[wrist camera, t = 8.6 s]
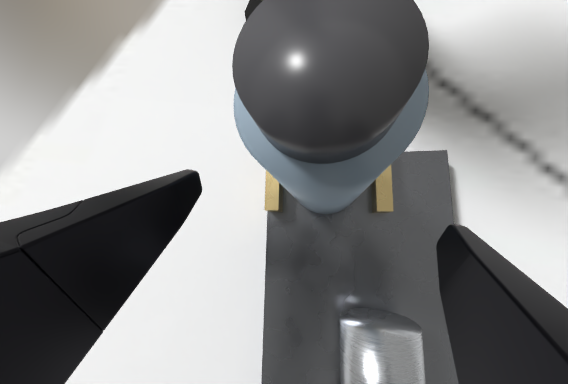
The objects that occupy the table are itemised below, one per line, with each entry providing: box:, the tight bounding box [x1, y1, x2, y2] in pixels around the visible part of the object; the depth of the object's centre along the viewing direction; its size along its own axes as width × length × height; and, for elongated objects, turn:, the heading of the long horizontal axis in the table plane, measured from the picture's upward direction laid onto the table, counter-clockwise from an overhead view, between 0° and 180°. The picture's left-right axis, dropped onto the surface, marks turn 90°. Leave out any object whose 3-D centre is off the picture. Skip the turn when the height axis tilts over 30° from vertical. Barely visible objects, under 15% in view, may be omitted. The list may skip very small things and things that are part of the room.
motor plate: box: [262, 150, 459, 384], centre depth 14 cm, size 20×13×7 cm, turn 179°
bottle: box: [232, 0, 429, 214], centre depth 11 cm, size 5×5×13 cm
